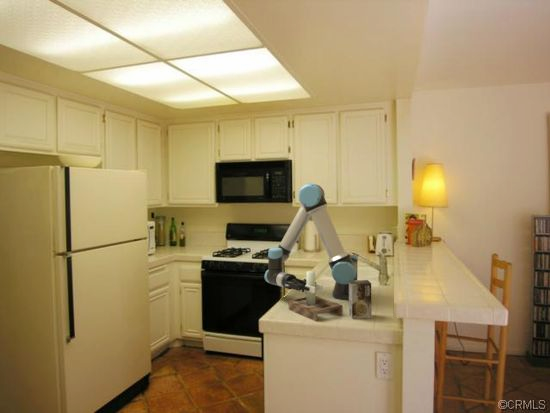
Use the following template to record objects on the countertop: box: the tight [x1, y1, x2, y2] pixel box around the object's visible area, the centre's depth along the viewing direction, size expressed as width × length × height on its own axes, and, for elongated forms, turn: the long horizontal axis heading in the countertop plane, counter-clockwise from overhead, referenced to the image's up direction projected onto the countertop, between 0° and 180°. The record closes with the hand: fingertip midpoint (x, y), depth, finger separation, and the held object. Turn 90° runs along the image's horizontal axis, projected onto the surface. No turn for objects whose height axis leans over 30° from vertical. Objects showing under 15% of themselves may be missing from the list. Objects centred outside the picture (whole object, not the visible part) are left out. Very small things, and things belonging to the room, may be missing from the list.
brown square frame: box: [288, 295, 344, 322], centre depth 182 cm, size 20×16×4 cm
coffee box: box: [348, 279, 373, 320], centre depth 176 cm, size 9×6×16 cm
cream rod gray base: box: [303, 270, 321, 308], centre depth 185 cm, size 9×9×18 cm
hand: (318, 289), depth 181 cm, fingers closed on cream rod gray base, 4 cm apart
